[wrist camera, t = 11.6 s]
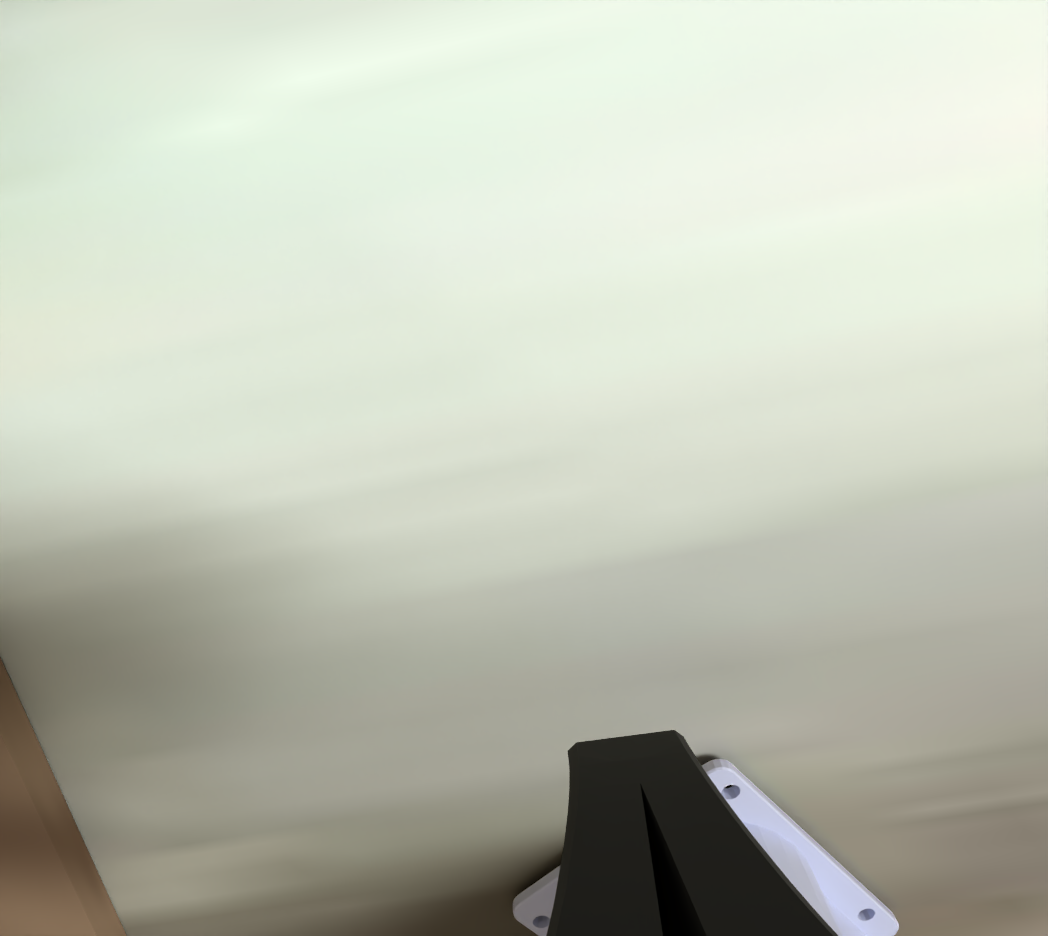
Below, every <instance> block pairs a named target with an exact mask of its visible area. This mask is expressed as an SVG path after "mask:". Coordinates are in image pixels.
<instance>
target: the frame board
mask: <svg viewBox="0 0 1048 936" xmlns="http://www.w3.org/2000/svg"><path fill="white" fill-rule="evenodd" d="M0 936H127V935H126V933H125V931H124V929H123V927H122V924H121V922H120V920H119V918H118V916H117V913H116V911H115V909H114V907H113V905H112V902H111V900H110V898H109V896H108V894H107V891H106V889H105V887H104V885H103V883H102V880H101V878H100V876H99V874H98V872H97V869H96V867H95V865H94V863H93V861H92V858H91V856H90V854H89V852H88V850H87V847H86V845H85V843H84V841H83V839H82V836H81V834H80V832H79V830H78V828H77V825H76V823H75V821H74V819H73V817H72V814H71V812H70V810H69V808H68V806H67V803H66V801H65V799H64V797H63V795H62V792H61V790H60V788H59V786H58V783H57V781H56V779H55V777H54V775H53V772H52V770H51V768H50V766H49V764H48V761H47V759H46V757H45V755H44V753H43V750H42V748H41V746H40V744H39V742H38V739H37V737H36V735H35V733H34V731H33V728H32V726H31V724H30V722H29V720H28V717H27V715H26V713H25V711H24V709H23V706H22V704H21V702H20V700H19V698H18V695H17V693H16V691H15V689H14V687H13V684H12V682H11V680H10V678H9V676H8V673H7V671H6V669H5V667H4V665H3V662H2V660H1V658H0Z"/></svg>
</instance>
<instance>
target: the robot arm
mask: <svg viewBox="0 0 1048 936" xmlns="http://www.w3.org/2000/svg"><path fill="white" fill-rule="evenodd" d="M568 757H569V767H570V789H569V805H568V816H567V825H566V833H565V842H564V848H563V853H562V859H561V865H560V866H558V867H557V868H555V869H554V870H553V871H551V872H550V873H548V874H547V875H545V876H544V877H543V878H541V879H540V880H538V881H537V882H535V883H534V884H533V885H531V886H530V887H528V888H527V889H525V890H524V891H523V892H521V893H520V894H518V895H517V896H516V897H515V898H514V901H513V914H514V917H515V919H516V920H517V921H519V922H520V923H521V924H523V925H524V926H526V927H527V928H528V929H530V930H531V931H533V932H534V933H535V934H537V935H538V936H893V935H895V934H896V932H897V931H898V929H899V924H898V922H897V920H896V918H895V916H894V914H893V913H892V911H891V910H889V909H888V908H887V907H886V906H885V905H884V904H883V903H882V902H881V901H880V900H879V899H878V898H877V897H875V896H874V895H873V894H872V893H871V892H870V891H869V890H868V889H867V888H866V887H865V886H864V885H862V884H861V883H860V882H859V881H858V880H857V879H856V878H855V877H854V876H853V875H852V874H851V873H849V872H848V871H847V870H846V869H845V868H844V867H843V866H842V865H841V864H840V863H839V862H838V861H837V860H835V859H834V858H833V857H832V856H831V855H830V854H829V853H828V852H827V851H826V850H825V849H824V848H822V847H821V846H820V845H819V844H818V843H817V842H816V841H815V840H814V839H813V838H812V837H811V836H809V835H808V834H807V833H806V832H805V831H804V830H803V829H802V828H801V827H800V826H799V825H798V824H796V823H795V822H794V821H793V820H792V819H791V818H790V817H789V816H788V815H787V814H786V813H785V812H784V811H782V810H781V809H780V808H779V807H778V806H777V805H776V804H775V803H774V802H773V801H772V800H771V799H769V798H768V797H767V796H766V795H765V794H764V793H763V792H762V791H761V790H760V789H759V788H758V787H756V786H755V785H754V784H753V783H752V782H751V781H750V780H749V779H748V778H747V777H746V776H745V775H743V774H742V773H741V772H740V771H739V770H738V769H737V768H736V767H735V766H734V765H733V764H732V763H730V762H729V761H727V760H724V759H715V760H711V761H709V762H707V763H705V764H704V765H702V766H701V764H700V763H699V761H698V760H697V758H696V756H695V755H694V753H693V752H692V750H691V749H690V747H689V745H688V744H687V742H686V740H685V739H684V737H683V736H682V735H680V734H679V733H678V732H676V731H675V730H670V731H662V732H655V733H647V734H639V735H632V736H624V737H616V738H608V739H601V740H593V741H585V742H577V743H575V744H574V745H573V746H572V747H571V748H570V749H569V750H568ZM728 785H733V786H732V787H730V788H725V787H726V786H728Z"/></svg>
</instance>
